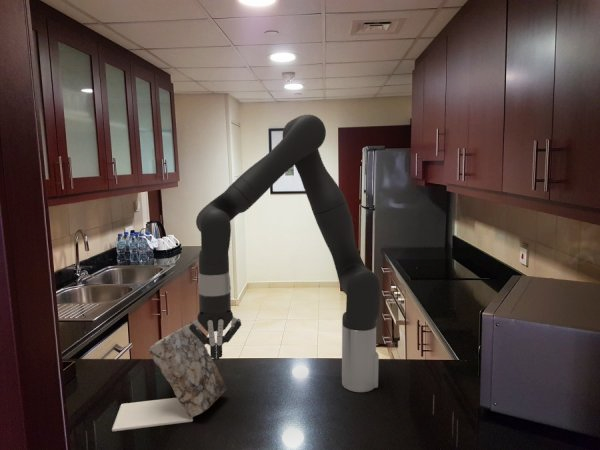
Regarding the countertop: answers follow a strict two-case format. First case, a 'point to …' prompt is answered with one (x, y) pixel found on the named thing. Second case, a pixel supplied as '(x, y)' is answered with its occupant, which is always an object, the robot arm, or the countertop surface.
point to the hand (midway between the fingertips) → (216, 358)
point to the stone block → (188, 370)
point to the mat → (150, 414)
